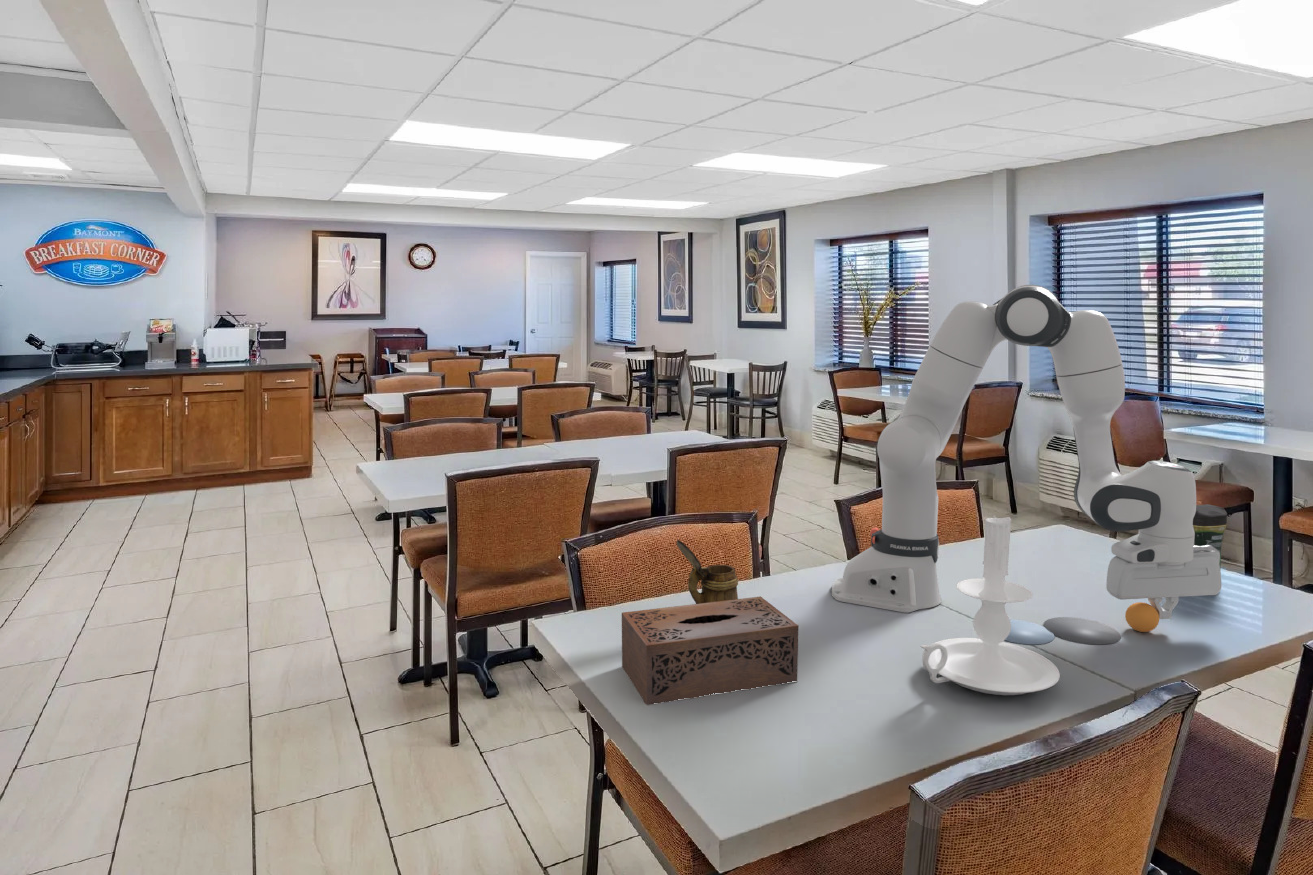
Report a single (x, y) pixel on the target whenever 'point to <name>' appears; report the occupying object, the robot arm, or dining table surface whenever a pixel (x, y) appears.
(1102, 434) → the robot arm
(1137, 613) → the ball
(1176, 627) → the dining table surface
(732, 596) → the wooden mug
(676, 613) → the tissue box cover
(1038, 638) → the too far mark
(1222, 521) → the coffee jar
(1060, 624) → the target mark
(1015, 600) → the candlestick
